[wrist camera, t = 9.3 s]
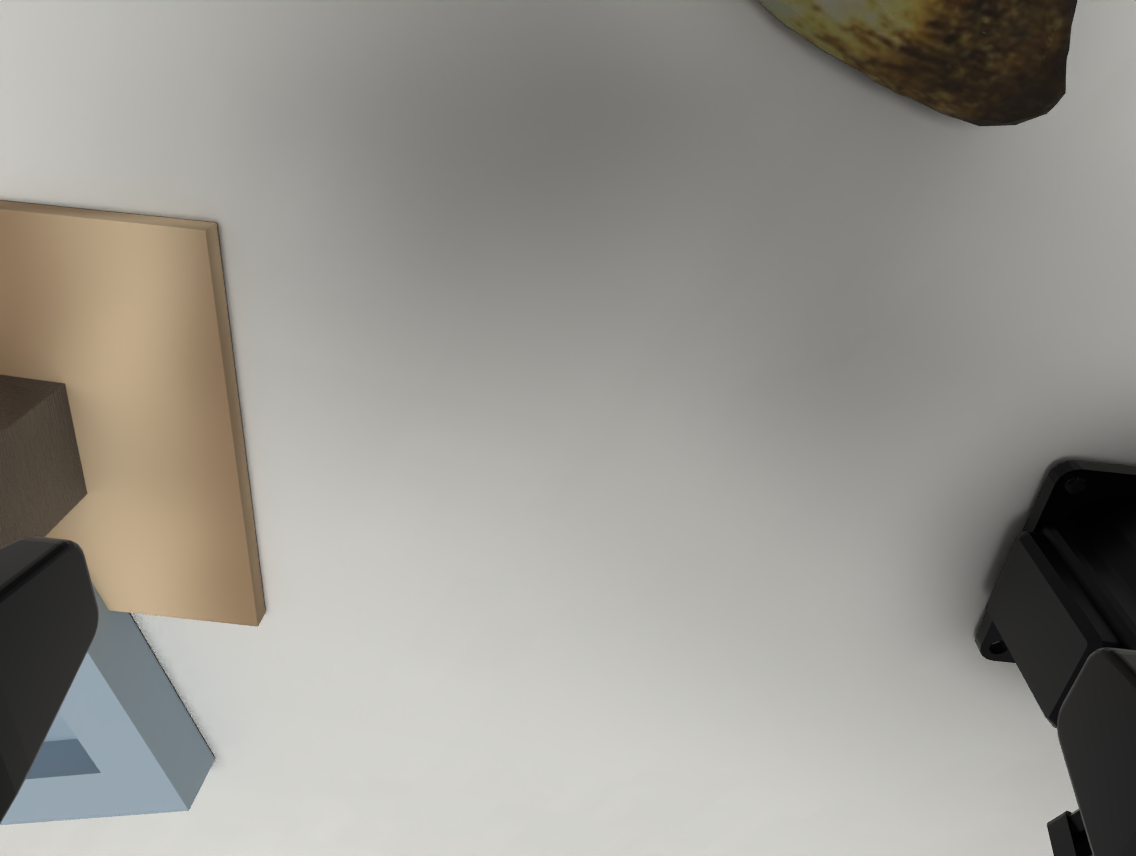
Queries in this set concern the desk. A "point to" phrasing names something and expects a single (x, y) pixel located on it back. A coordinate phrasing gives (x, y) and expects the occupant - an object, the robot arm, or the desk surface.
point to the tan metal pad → (139, 401)
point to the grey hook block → (36, 458)
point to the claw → (948, 50)
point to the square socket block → (115, 738)
